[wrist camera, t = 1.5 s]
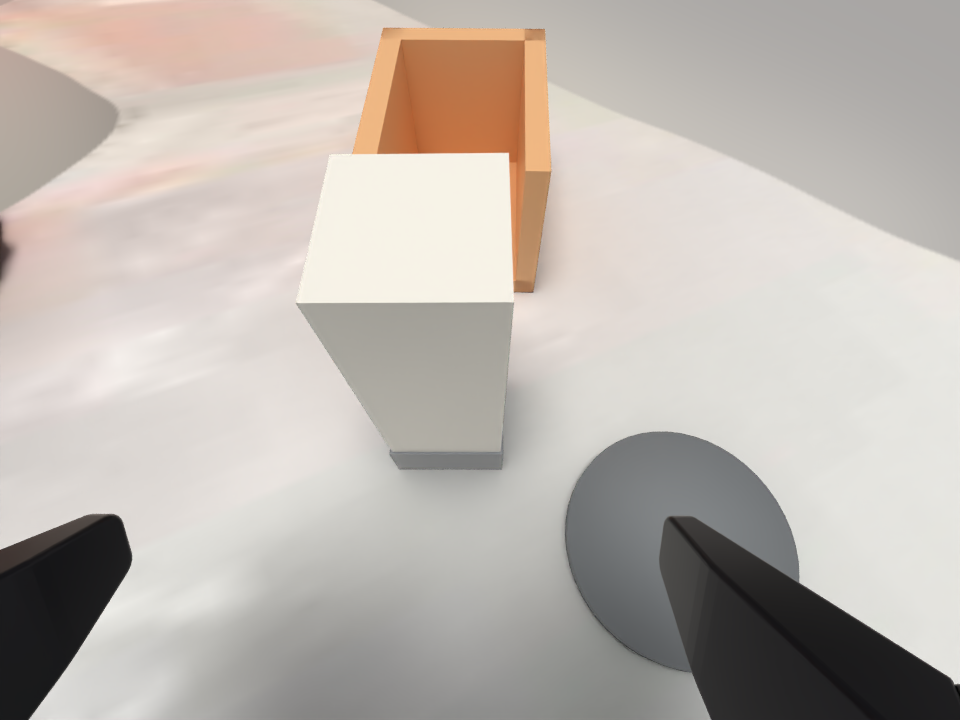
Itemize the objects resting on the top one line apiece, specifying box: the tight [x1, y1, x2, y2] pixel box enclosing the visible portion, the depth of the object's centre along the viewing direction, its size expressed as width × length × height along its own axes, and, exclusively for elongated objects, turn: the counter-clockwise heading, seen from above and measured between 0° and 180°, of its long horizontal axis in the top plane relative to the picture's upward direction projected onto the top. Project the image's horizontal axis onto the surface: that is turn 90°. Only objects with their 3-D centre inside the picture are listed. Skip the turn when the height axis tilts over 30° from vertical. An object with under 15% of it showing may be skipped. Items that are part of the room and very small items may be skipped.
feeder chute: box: [352, 28, 551, 292], centre depth 24 cm, size 10×8×8 cm
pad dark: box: [565, 432, 799, 672], centre depth 19 cm, size 9×9×1 cm
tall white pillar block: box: [296, 153, 514, 469], centre depth 16 cm, size 5×5×13 cm
